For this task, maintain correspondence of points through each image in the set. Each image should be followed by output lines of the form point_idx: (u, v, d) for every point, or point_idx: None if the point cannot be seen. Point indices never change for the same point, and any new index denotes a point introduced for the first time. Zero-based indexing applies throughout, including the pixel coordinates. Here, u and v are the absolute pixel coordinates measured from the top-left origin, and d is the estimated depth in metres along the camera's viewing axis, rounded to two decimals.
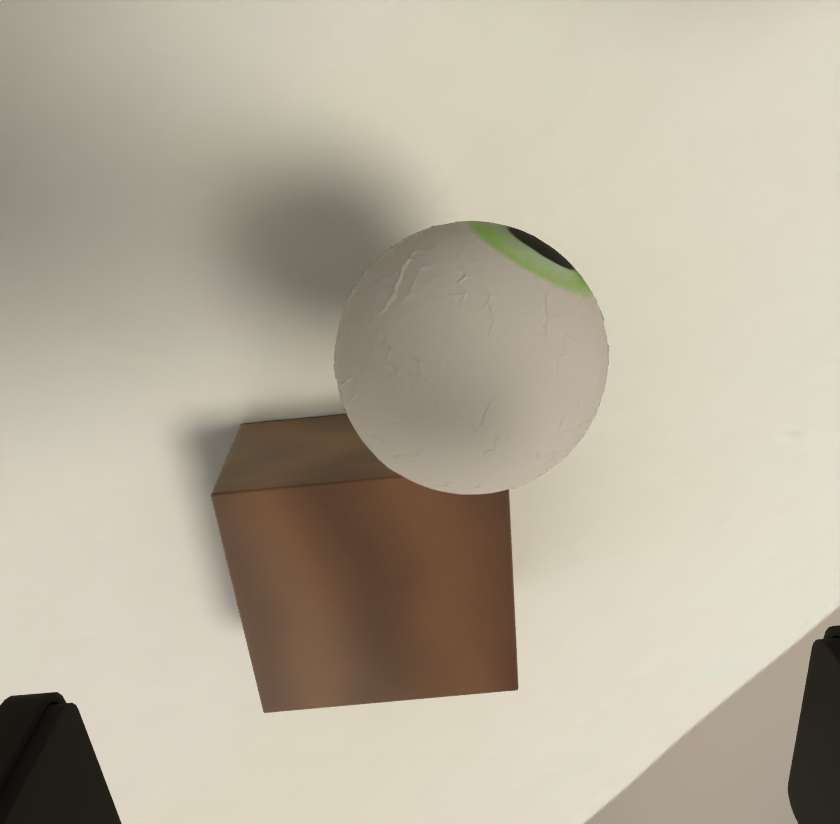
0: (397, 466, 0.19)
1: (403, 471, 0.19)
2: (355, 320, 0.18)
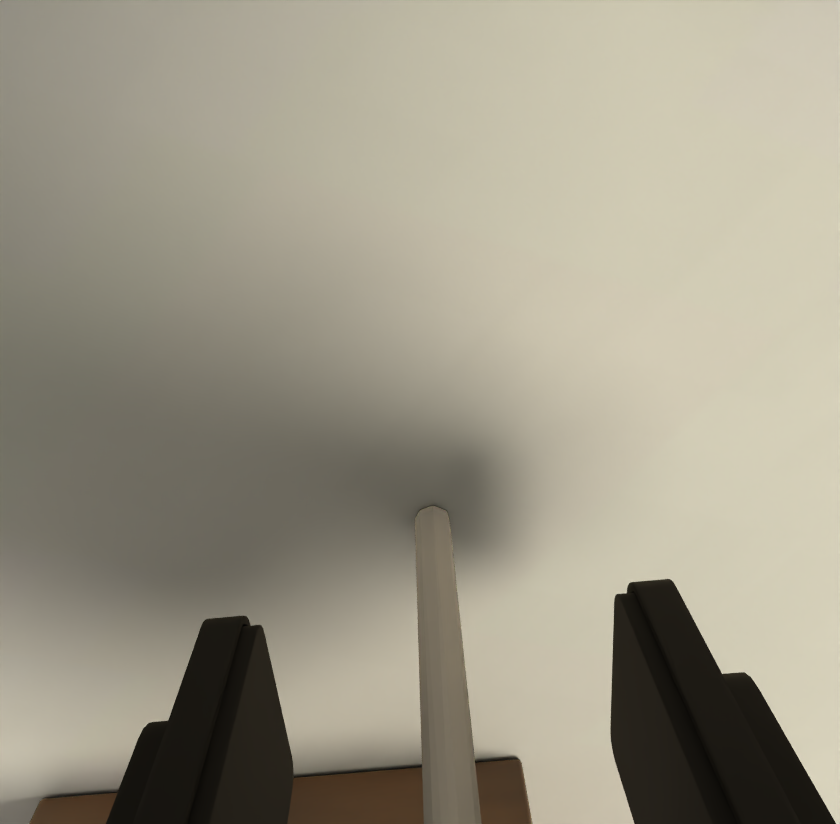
0: None
1: None
2: None
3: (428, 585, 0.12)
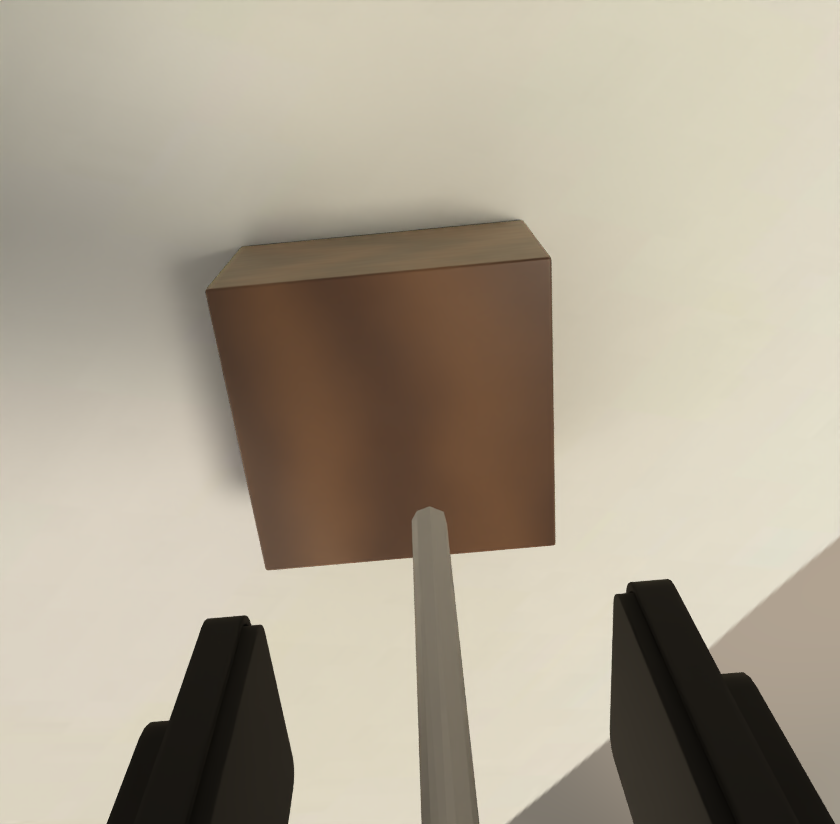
0: None
1: None
2: None
3: (425, 586, 0.12)
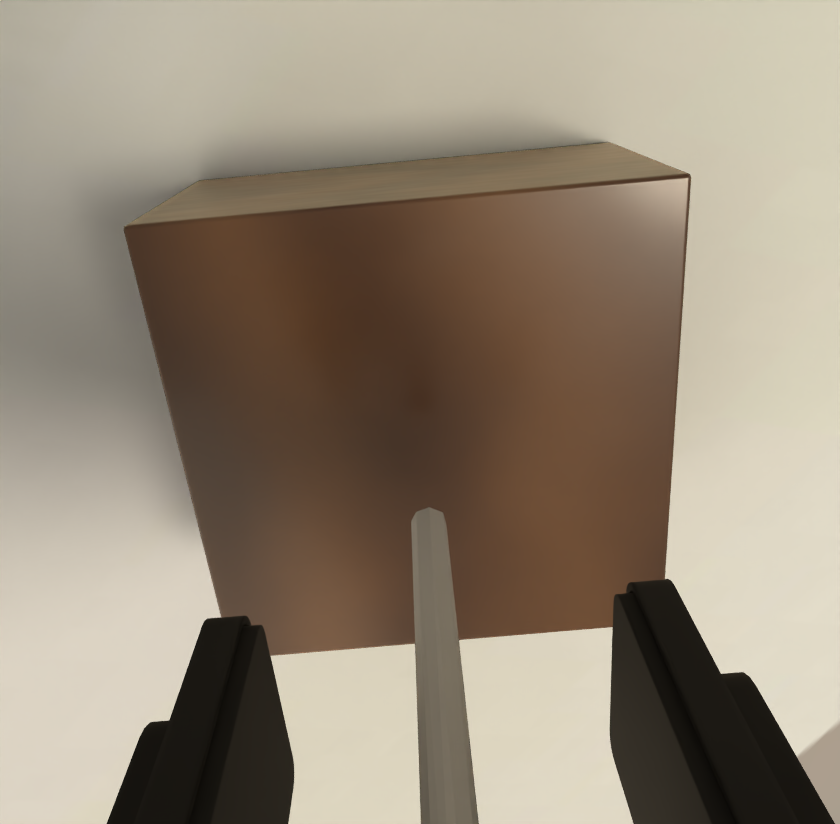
0: None
1: None
2: None
3: (424, 587, 0.12)
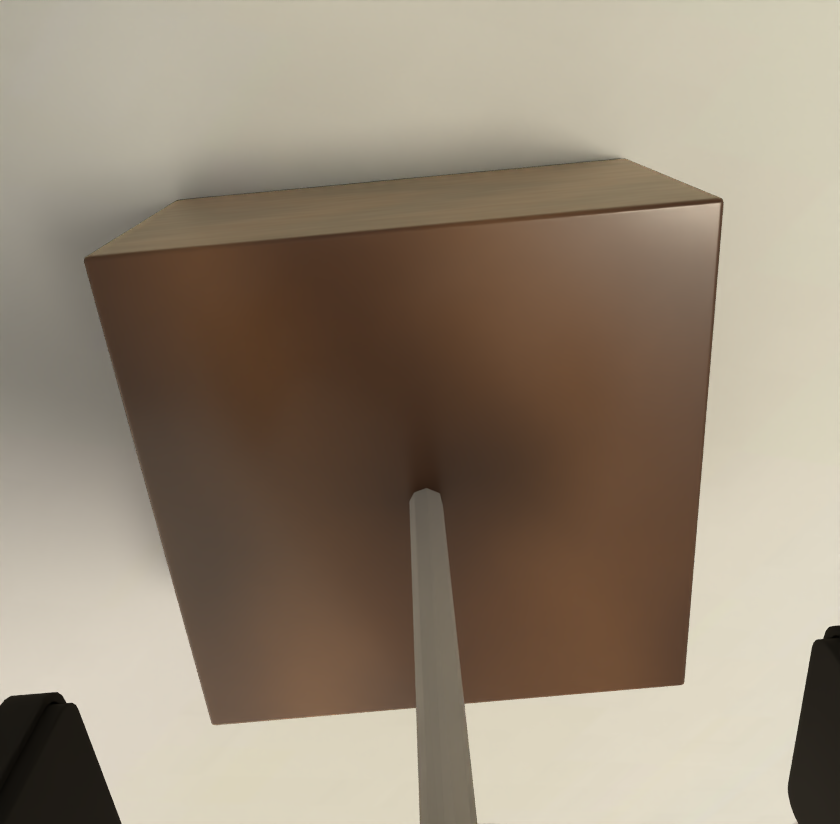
0: None
1: None
2: None
3: (422, 560, 0.13)
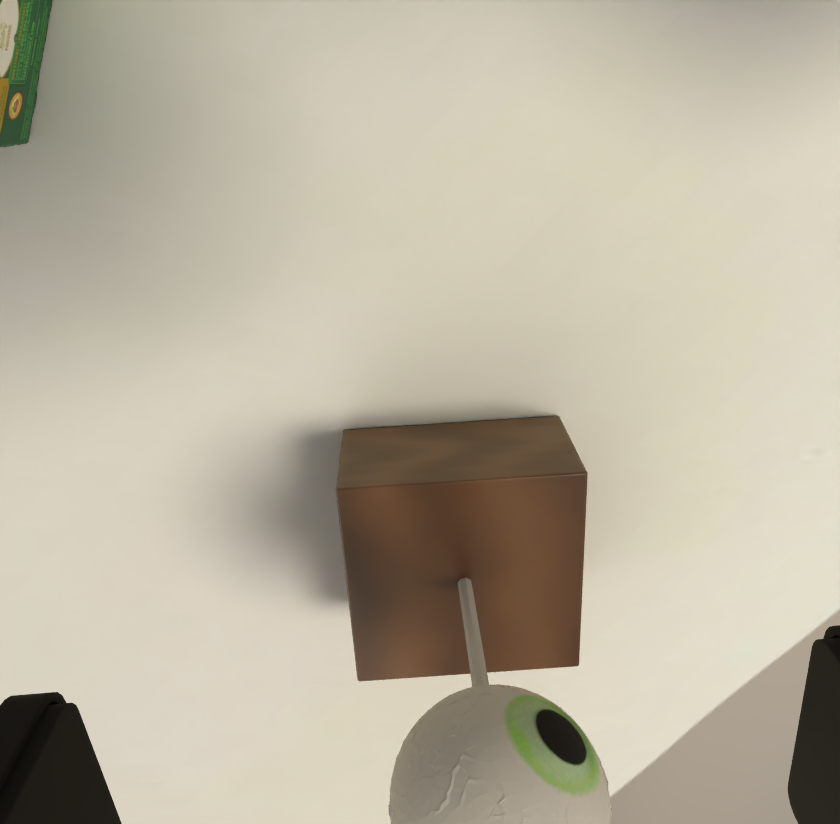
0: None
1: None
2: (412, 802, 0.23)
3: (466, 610, 0.33)
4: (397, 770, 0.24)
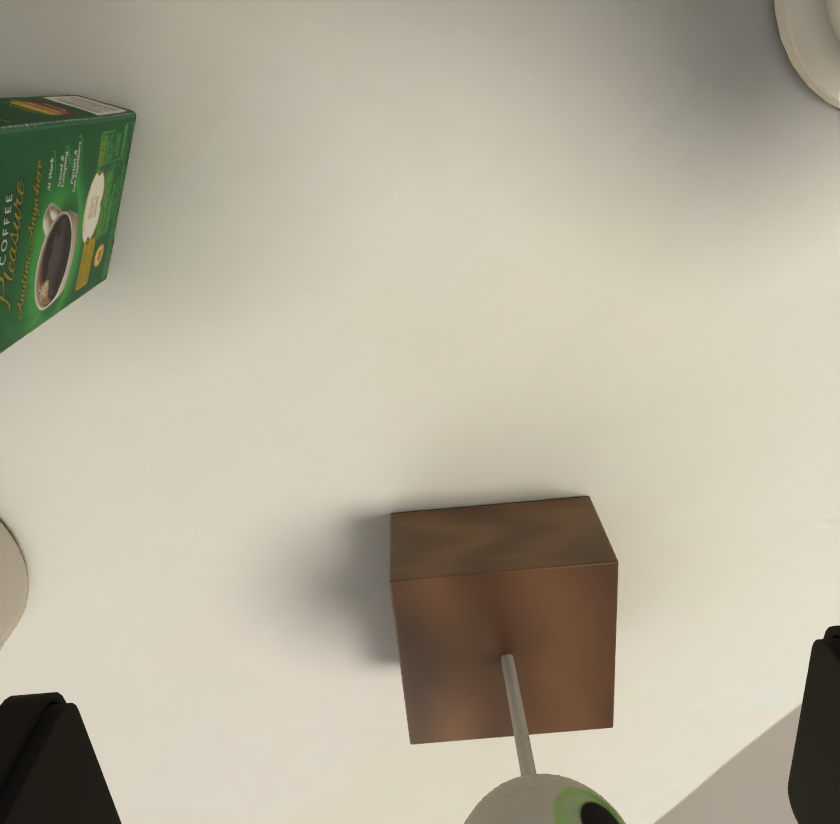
0: None
1: None
2: None
3: (510, 688, 0.36)
4: None
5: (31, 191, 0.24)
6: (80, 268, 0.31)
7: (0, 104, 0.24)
